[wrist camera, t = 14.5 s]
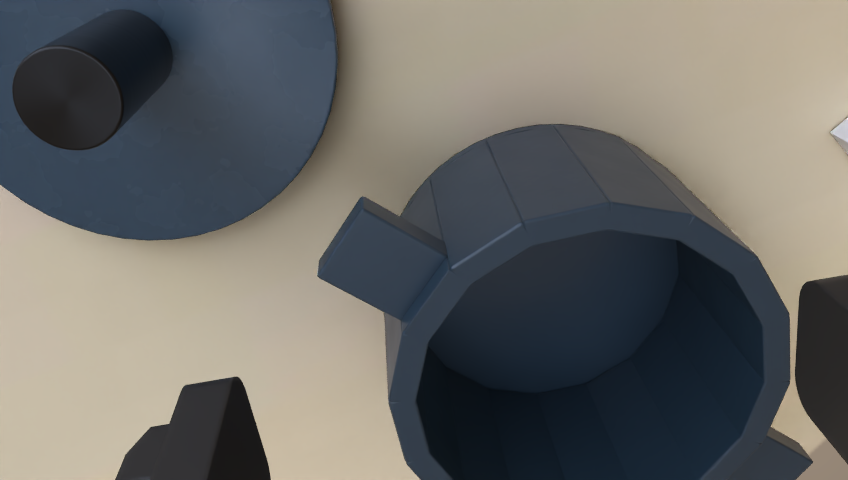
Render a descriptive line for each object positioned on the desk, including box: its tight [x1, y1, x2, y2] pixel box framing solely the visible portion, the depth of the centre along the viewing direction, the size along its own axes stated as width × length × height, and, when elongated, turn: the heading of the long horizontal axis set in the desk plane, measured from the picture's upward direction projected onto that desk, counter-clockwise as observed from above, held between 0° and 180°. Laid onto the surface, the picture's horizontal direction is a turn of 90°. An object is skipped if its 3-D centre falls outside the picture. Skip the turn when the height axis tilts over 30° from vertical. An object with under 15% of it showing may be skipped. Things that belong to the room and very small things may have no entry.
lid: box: [0, 0, 338, 240], centre depth 22 cm, size 13×13×7 cm
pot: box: [317, 124, 813, 480], centre depth 26 cm, size 12×17×7 cm
